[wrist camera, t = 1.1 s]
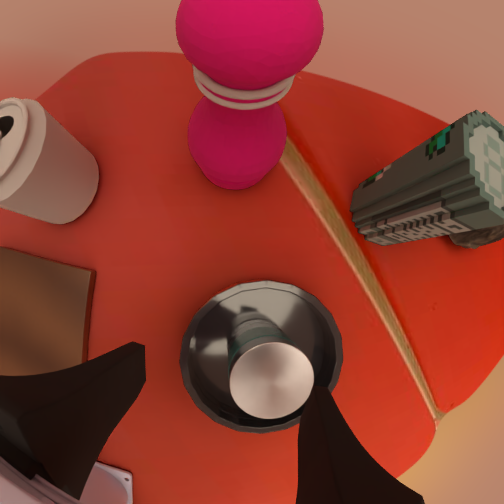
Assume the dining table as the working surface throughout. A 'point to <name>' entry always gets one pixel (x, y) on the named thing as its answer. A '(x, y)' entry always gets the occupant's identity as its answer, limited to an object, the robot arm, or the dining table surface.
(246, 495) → the dining table surface
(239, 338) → the tin can
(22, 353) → the board
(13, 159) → the can
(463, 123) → the can
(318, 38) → the pepper mill
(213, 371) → the pan
